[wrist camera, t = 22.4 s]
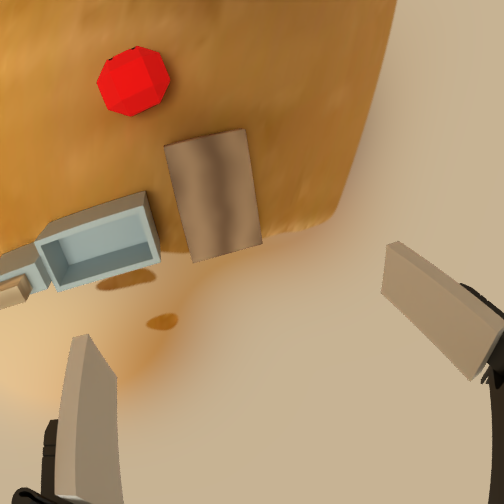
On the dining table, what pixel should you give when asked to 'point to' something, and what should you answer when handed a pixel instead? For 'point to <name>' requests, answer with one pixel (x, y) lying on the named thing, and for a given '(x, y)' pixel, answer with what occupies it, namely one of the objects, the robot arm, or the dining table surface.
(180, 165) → the lid
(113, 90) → the ball
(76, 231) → the open box
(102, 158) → the dining table surface
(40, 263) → the grey block with peg
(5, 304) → the bar
